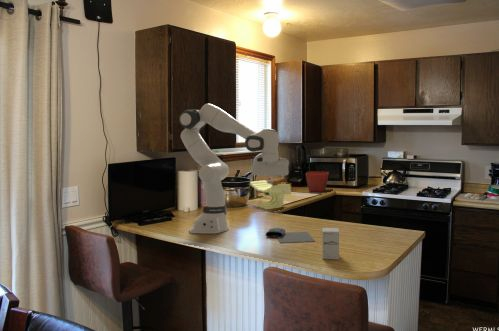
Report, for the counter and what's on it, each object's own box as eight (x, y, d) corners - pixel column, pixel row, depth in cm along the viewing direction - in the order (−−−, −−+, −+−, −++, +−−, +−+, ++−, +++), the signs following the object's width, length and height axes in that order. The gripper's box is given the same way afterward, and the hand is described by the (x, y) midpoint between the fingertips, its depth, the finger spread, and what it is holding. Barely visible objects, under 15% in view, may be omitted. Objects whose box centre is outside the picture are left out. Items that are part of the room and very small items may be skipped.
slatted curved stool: (291, 208, 312) (291, 183, 310) (272, 211, 303) (272, 185, 302) (268, 202, 337) (267, 179, 336) (250, 205, 329) (250, 181, 328)
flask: (282, 237, 230) (286, 232, 240) (282, 232, 230) (286, 227, 240) (265, 236, 232) (269, 232, 243) (265, 231, 232) (269, 226, 242)
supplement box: (322, 259, 191) (321, 231, 190) (322, 254, 199) (322, 227, 197) (339, 260, 190) (339, 231, 189) (338, 255, 197) (338, 227, 196)
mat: (279, 243, 220) (279, 242, 220) (274, 233, 240) (274, 233, 240) (315, 241, 221) (315, 241, 221) (307, 232, 241) (307, 231, 241)
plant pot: (328, 189, 396) (328, 171, 394) (327, 193, 377) (327, 173, 376) (307, 189, 400) (307, 171, 399) (305, 192, 382) (305, 173, 380)
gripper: (288, 157, 241) (287, 182, 243) (251, 157, 240) (251, 182, 242) (289, 158, 235) (289, 184, 237) (252, 158, 234) (251, 184, 235)
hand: (269, 183), depth 239 cm, fingers closed
